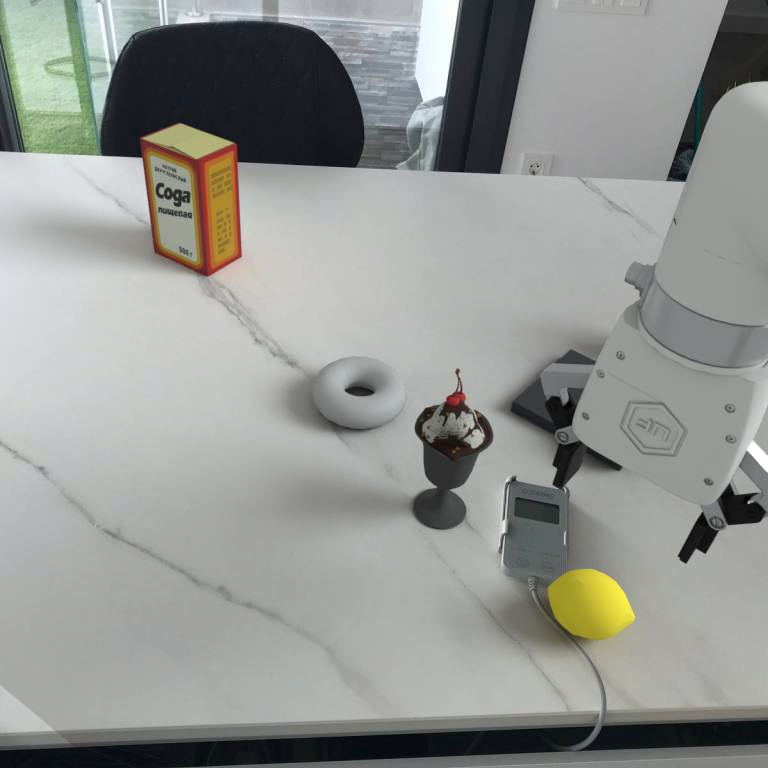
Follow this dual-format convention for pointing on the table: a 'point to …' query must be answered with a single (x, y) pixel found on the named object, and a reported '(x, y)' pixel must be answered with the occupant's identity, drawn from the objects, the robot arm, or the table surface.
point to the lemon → (590, 604)
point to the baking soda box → (193, 197)
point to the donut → (359, 408)
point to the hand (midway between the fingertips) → (625, 511)
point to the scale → (534, 400)
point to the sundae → (449, 456)
